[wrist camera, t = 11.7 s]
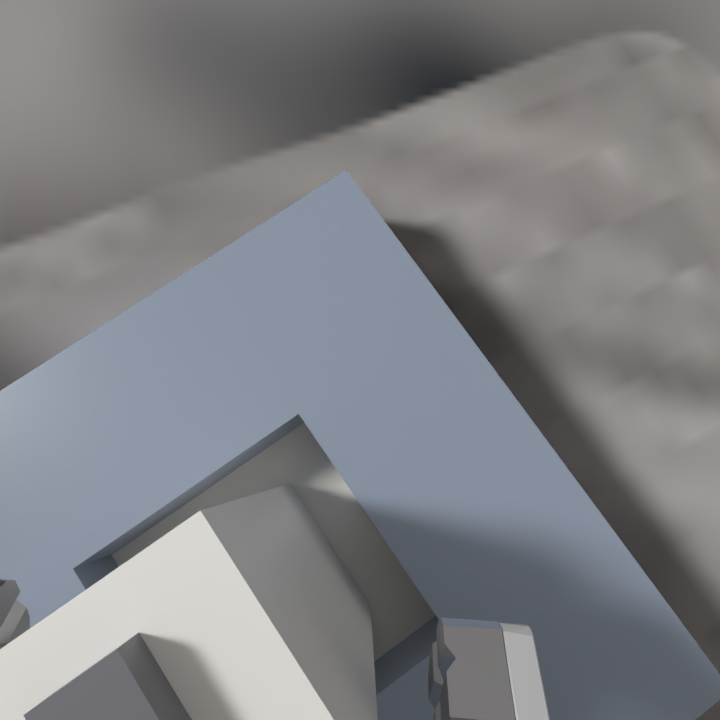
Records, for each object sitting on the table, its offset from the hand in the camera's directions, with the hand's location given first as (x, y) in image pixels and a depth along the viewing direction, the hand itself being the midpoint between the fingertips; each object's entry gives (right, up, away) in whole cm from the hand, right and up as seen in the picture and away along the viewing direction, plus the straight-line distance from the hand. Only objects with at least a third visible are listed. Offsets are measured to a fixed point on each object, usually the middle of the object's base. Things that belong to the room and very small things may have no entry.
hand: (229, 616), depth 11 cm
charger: (0, -2, +7) cm, 7 cm away
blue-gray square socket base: (0, -2, +7) cm, 7 cm away
